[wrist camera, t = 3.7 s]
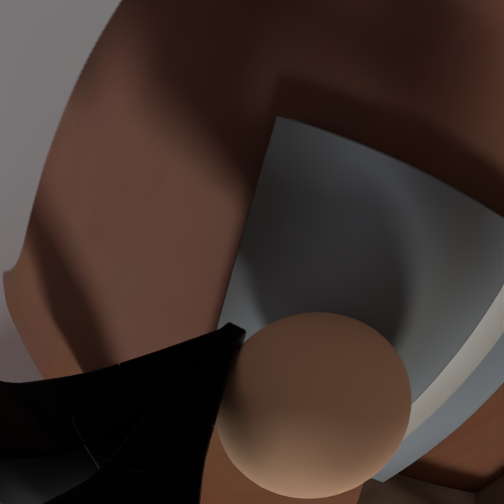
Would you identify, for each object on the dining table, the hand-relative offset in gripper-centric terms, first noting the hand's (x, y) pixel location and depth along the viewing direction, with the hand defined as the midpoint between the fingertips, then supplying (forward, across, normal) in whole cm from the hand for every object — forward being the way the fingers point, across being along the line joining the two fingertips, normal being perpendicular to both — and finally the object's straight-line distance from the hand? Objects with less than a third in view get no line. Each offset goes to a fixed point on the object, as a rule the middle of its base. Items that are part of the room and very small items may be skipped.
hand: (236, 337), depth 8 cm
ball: (-1, -3, 0) cm, 3 cm away
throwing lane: (+3, -8, +1) cm, 9 cm away
